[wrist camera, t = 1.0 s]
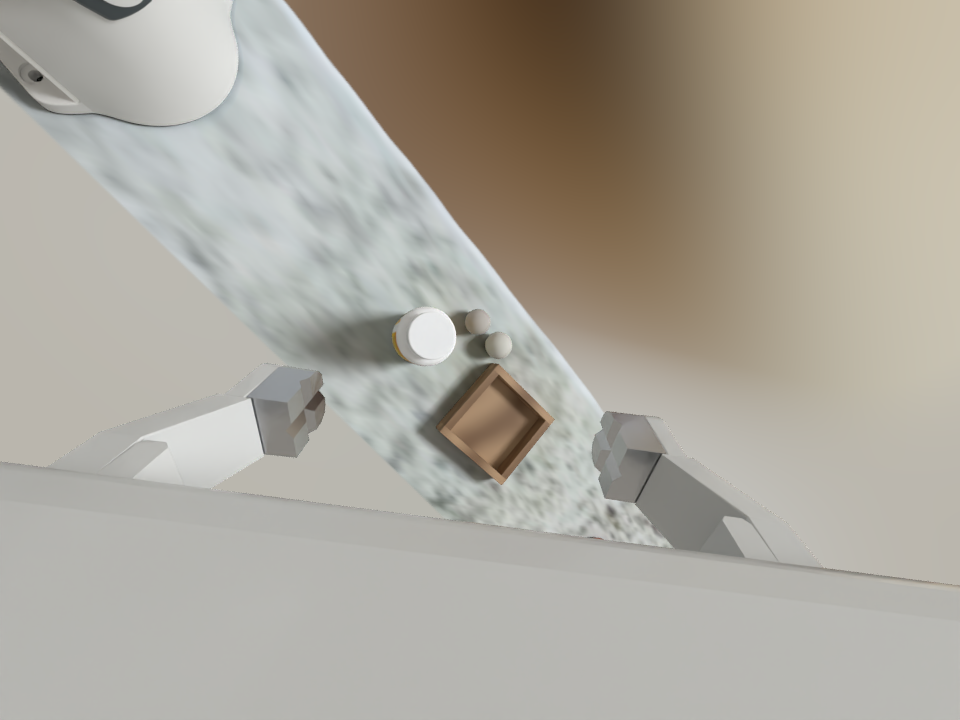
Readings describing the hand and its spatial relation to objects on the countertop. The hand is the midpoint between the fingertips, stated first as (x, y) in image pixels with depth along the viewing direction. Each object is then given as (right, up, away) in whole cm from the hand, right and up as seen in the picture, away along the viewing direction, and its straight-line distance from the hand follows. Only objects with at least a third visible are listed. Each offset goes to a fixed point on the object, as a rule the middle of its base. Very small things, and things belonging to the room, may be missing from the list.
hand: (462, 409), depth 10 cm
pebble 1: (0, +6, +30) cm, 30 cm away
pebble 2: (+2, +3, +30) cm, 31 cm away
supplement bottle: (-6, +4, +28) cm, 29 cm away
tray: (+2, -6, +31) cm, 31 cm away
